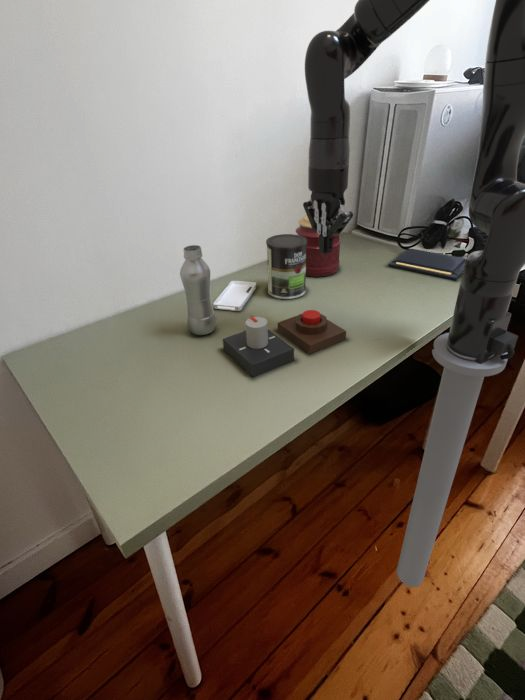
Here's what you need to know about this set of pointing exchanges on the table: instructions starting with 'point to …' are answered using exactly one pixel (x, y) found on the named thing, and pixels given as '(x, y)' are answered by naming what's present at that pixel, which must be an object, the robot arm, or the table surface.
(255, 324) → the brew dial
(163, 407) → the table surface
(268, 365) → the dial console
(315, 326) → the power button base
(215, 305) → the phone case
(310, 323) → the power button
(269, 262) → the coffee can
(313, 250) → the kitchen canister
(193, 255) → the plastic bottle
